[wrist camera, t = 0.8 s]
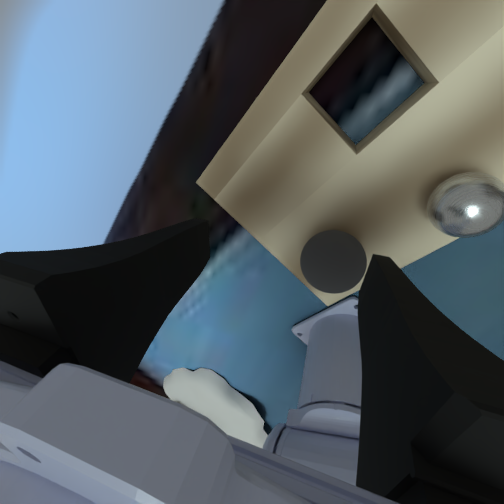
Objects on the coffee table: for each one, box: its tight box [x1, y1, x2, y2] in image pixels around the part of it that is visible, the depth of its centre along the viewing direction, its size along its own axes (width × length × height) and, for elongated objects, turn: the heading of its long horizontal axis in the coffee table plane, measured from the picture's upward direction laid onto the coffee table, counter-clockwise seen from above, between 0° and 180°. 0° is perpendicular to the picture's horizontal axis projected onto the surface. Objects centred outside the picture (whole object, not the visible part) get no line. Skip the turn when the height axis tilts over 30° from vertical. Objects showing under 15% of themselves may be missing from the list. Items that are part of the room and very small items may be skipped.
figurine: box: [163, 368, 268, 448], centre depth 36 cm, size 20×18×16 cm
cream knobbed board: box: [196, 0, 504, 306], centre depth 15 cm, size 14×22×3 cm, turn 140°
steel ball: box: [427, 172, 504, 238], centre depth 13 cm, size 3×3×3 cm
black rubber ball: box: [300, 230, 367, 294], centre depth 16 cm, size 4×4×4 cm
